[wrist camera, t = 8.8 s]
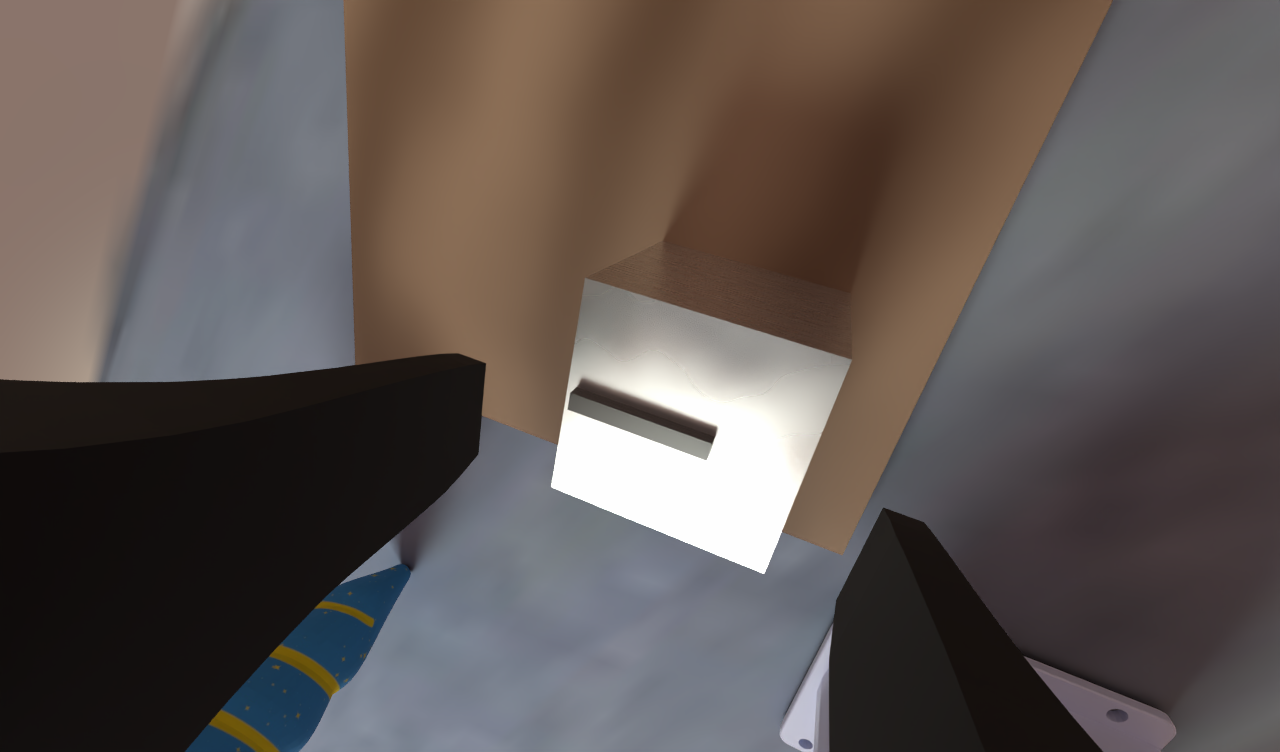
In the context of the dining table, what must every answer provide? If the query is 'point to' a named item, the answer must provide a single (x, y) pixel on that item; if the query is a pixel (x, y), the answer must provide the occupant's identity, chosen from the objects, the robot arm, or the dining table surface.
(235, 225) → the dining table surface
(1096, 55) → the dining table surface
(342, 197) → the dining table surface
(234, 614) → the robot arm
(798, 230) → the board
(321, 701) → the ornament
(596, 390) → the beige cube
